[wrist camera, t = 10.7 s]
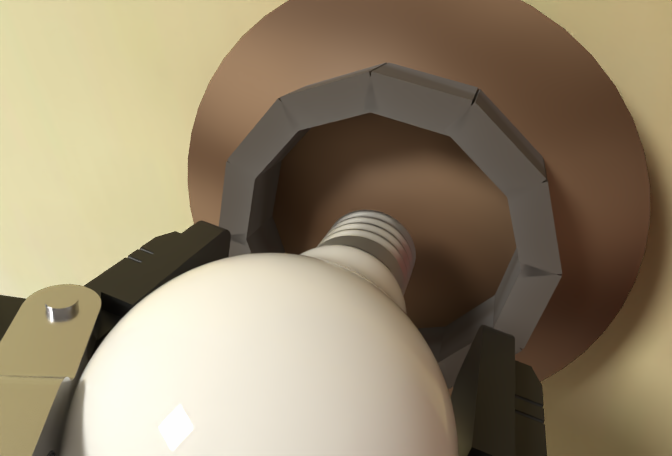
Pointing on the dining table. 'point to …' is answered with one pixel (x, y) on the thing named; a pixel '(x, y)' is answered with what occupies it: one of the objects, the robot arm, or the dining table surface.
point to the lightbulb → (272, 359)
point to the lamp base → (436, 162)
